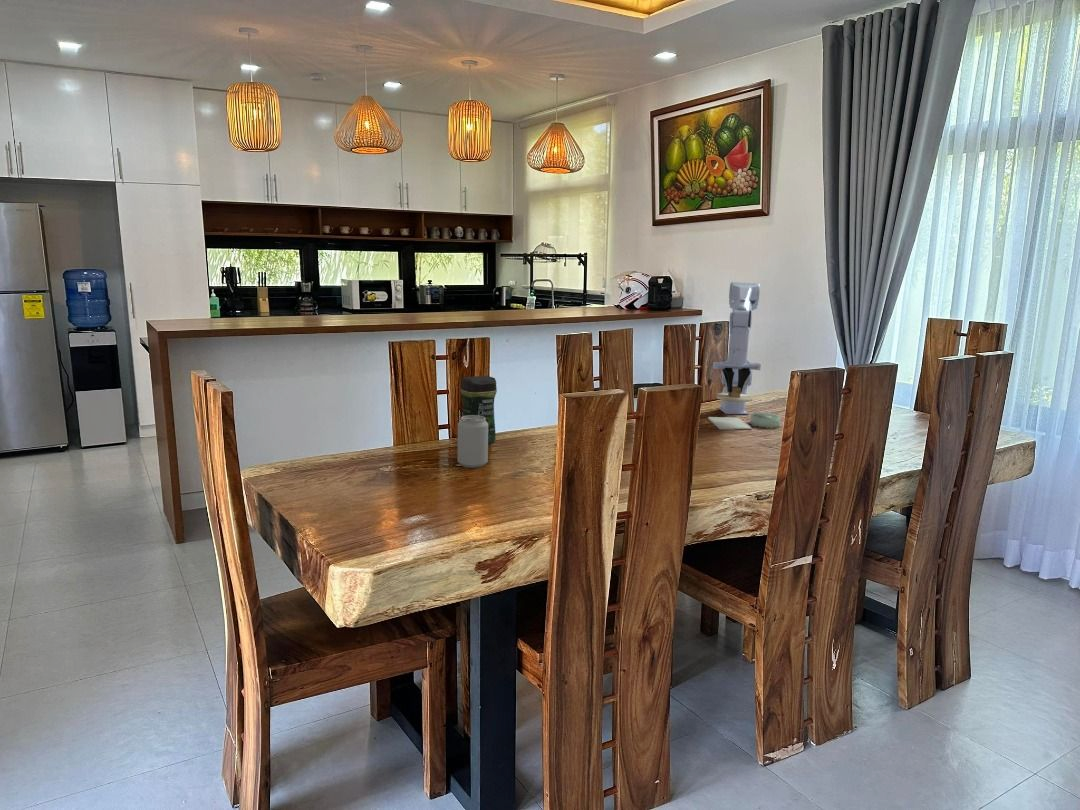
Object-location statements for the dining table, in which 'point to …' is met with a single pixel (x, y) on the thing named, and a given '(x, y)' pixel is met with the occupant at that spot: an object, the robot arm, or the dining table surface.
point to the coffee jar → (480, 400)
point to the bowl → (765, 419)
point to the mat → (729, 423)
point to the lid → (734, 396)
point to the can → (472, 441)
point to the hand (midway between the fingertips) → (734, 392)
